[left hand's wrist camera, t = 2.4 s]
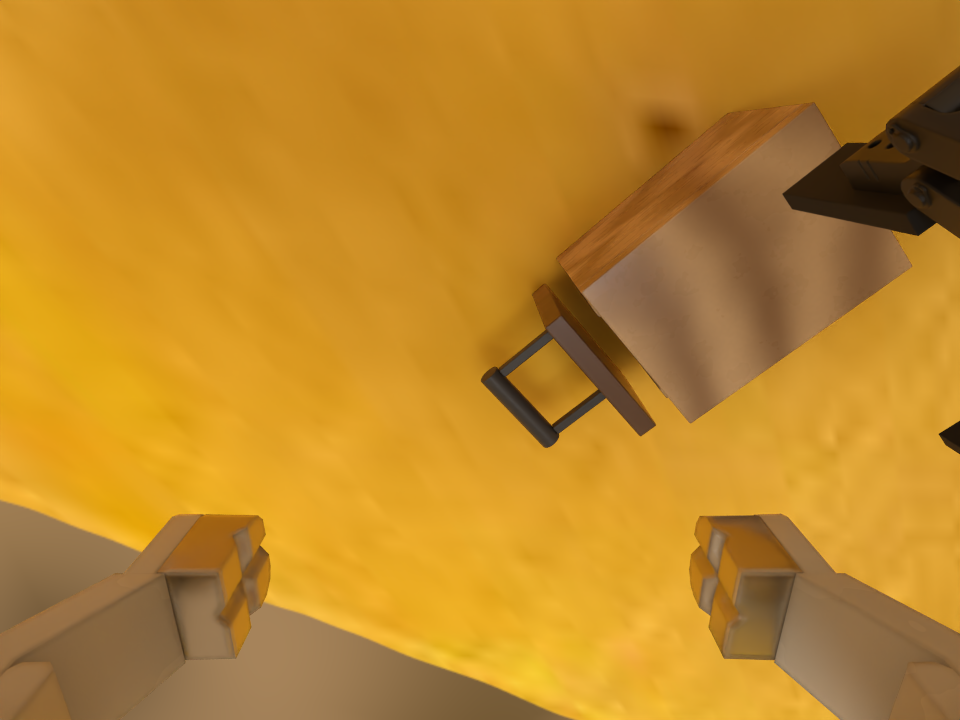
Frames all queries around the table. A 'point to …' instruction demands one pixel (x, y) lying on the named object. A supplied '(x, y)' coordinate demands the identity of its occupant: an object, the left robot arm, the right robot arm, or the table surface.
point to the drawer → (589, 361)
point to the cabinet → (729, 258)
